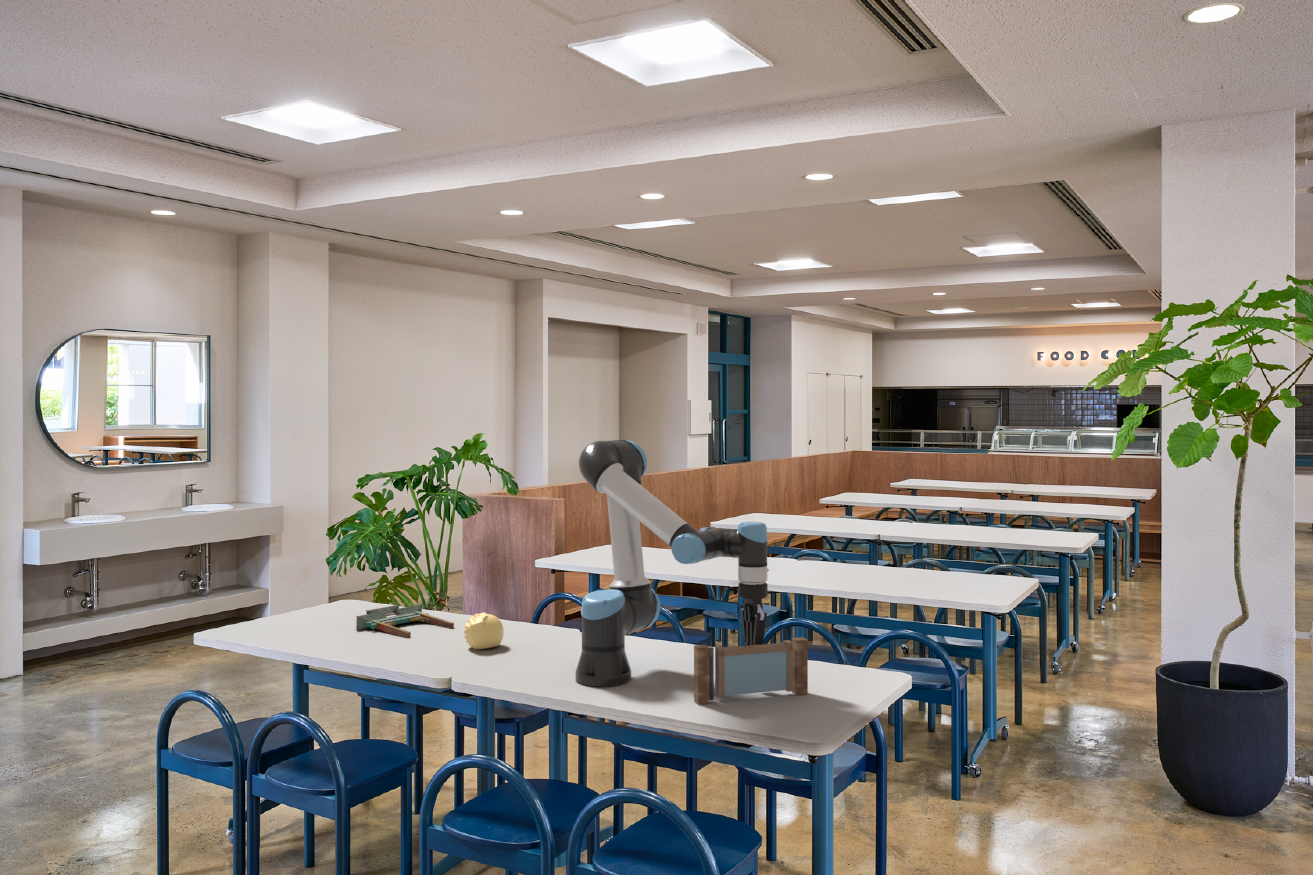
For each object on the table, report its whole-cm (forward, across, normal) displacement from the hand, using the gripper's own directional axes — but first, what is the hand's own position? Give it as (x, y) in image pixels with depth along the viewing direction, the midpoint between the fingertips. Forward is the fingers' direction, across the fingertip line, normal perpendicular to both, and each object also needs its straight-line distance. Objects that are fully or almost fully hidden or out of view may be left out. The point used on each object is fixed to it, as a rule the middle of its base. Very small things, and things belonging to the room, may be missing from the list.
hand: (753, 672), depth 248 cm
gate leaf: (+3, -7, +3) cm, 8 cm away
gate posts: (+5, -7, +3) cm, 9 cm away
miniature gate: (+5, +106, +85) cm, 136 cm away
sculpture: (+5, +68, +62) cm, 92 cm away
